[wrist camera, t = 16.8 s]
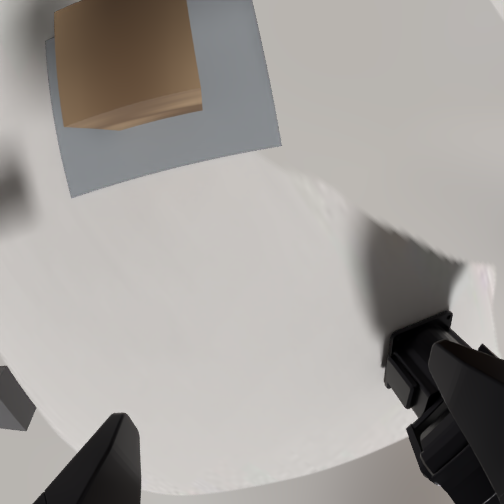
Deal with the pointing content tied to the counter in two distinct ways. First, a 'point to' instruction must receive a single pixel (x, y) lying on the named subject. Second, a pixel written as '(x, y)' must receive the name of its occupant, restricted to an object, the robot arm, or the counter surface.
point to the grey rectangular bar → (14, 403)
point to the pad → (187, 125)
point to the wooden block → (125, 63)
